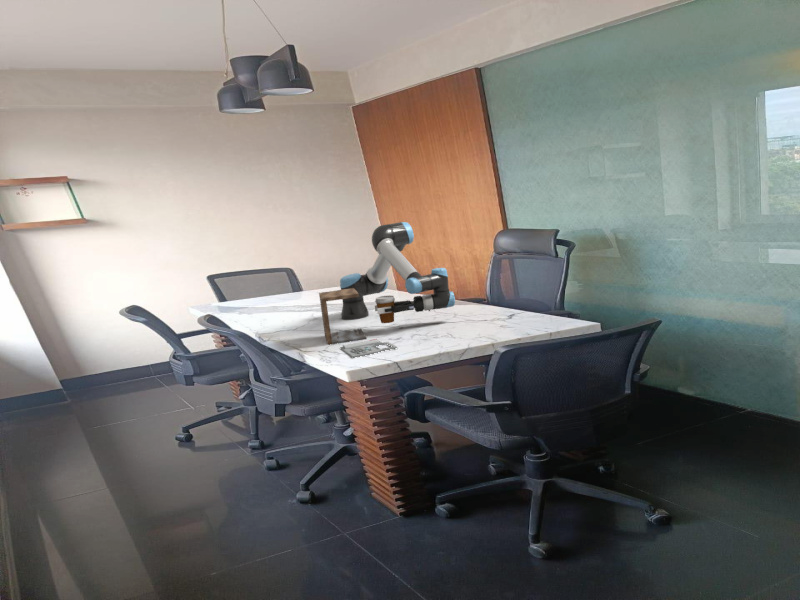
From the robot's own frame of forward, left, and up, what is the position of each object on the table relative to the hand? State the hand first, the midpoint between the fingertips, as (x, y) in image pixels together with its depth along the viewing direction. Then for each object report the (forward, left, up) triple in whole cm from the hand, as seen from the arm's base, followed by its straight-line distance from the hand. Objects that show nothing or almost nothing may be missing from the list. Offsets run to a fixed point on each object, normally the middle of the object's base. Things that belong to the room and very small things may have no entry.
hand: (376, 309), depth 322 cm
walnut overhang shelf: (+15, -6, -11) cm, 20 cm away
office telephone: (+19, +27, -12) cm, 35 cm away
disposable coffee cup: (-4, +2, -7) cm, 8 cm away
